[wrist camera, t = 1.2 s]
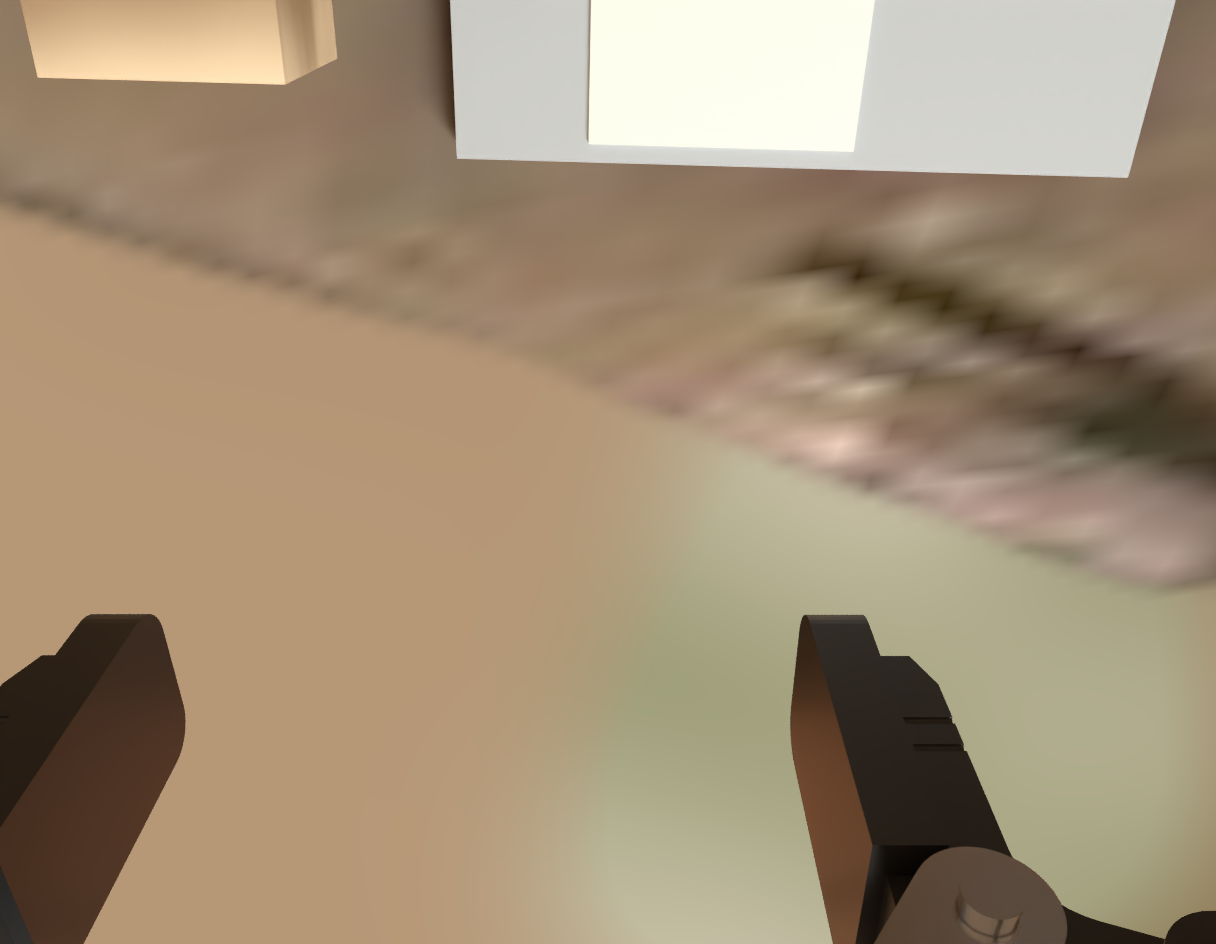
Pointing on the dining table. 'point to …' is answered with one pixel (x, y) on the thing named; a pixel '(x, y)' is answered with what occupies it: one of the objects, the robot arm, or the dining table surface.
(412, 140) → the dining table surface
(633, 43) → the build board
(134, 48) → the beech block
